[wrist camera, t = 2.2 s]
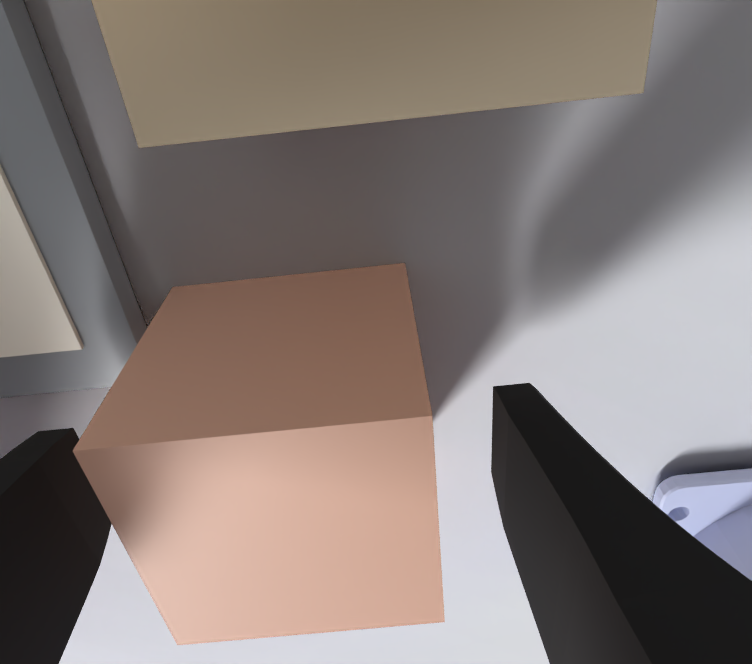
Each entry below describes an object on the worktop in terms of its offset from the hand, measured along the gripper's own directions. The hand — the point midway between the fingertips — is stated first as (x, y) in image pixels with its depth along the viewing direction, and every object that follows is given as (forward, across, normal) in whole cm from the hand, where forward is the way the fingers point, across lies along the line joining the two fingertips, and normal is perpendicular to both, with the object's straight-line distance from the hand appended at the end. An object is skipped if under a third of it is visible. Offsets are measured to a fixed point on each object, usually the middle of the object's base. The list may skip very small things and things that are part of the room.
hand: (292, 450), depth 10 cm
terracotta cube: (+2, 0, 0) cm, 3 cm away
